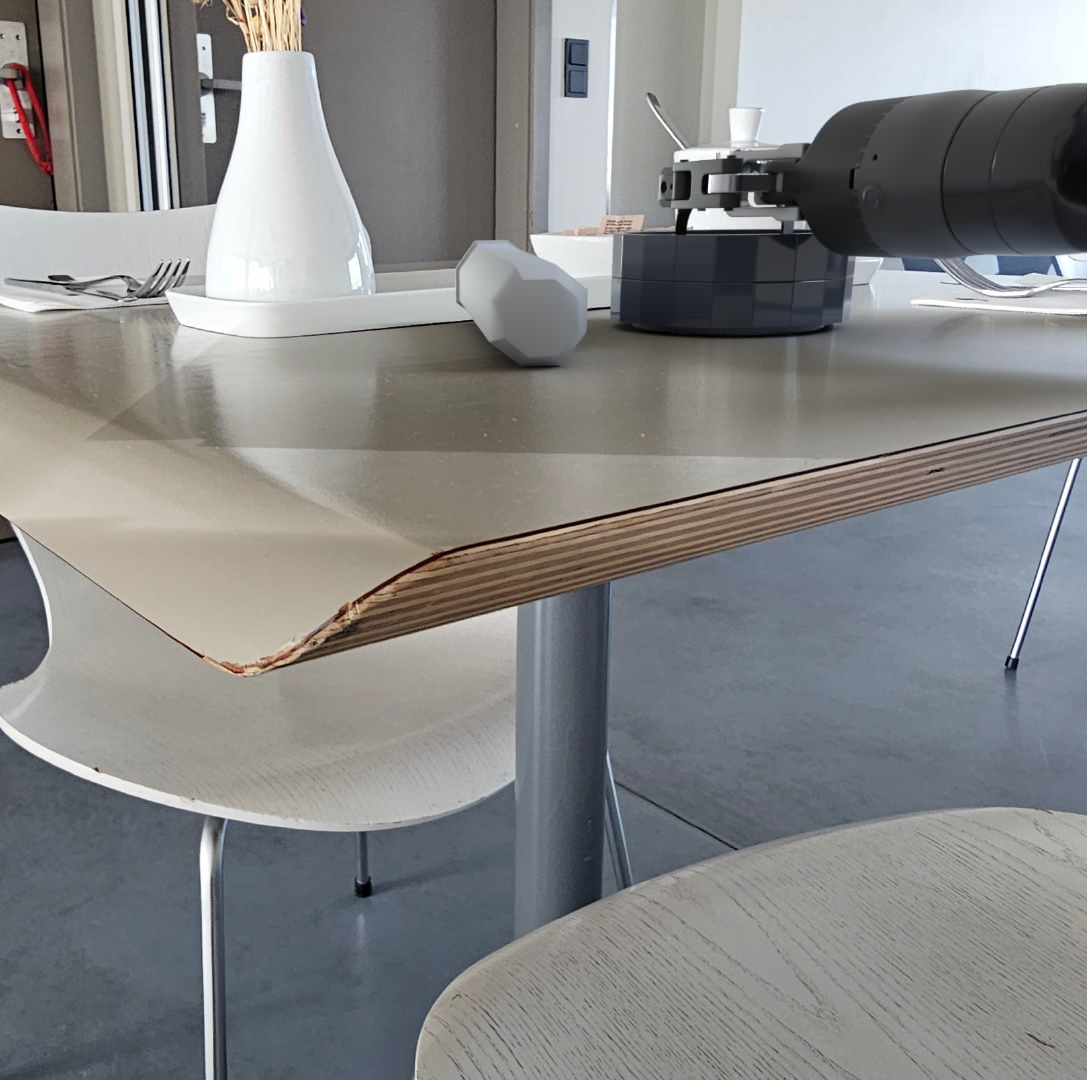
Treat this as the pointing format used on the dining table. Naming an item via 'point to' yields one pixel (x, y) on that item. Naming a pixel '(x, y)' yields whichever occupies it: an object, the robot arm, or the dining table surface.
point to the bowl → (728, 282)
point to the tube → (522, 302)
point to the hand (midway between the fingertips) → (712, 187)
